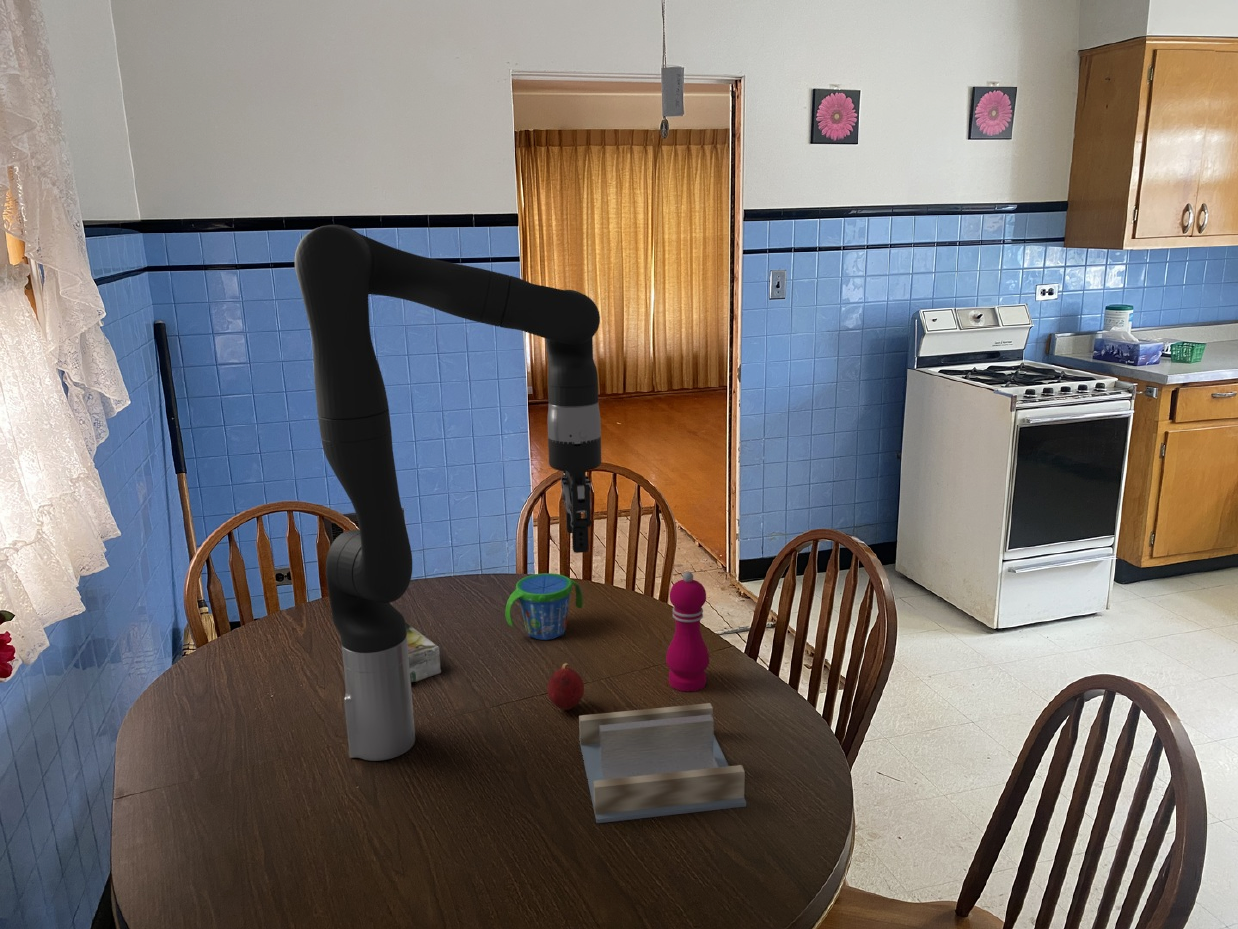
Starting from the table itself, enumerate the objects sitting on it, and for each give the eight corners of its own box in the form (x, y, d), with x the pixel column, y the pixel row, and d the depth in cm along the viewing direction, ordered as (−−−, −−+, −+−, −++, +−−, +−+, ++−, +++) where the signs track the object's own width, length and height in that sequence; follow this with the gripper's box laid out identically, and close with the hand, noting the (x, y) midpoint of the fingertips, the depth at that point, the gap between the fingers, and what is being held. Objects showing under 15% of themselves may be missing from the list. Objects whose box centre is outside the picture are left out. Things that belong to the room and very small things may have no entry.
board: (596, 823, 116) (596, 819, 116) (579, 739, 135) (578, 736, 135) (746, 806, 119) (746, 802, 119) (708, 726, 138) (708, 723, 138)
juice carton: (447, 674, 156) (444, 642, 155) (395, 694, 150) (392, 661, 149) (393, 638, 171) (390, 608, 170) (344, 654, 165) (341, 624, 164)
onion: (579, 721, 140) (578, 674, 138) (543, 717, 142) (542, 671, 140) (588, 702, 146) (587, 657, 144) (554, 699, 147) (552, 654, 145)
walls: (595, 814, 117) (594, 787, 116) (579, 739, 134) (579, 715, 133) (744, 798, 120) (744, 771, 119) (709, 726, 137) (710, 703, 136)
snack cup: (516, 652, 164) (513, 600, 161) (498, 630, 173) (495, 580, 170) (594, 635, 170) (593, 585, 167) (573, 614, 179) (571, 567, 177)
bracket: (606, 793, 121) (605, 749, 120) (600, 768, 127) (599, 725, 125) (721, 781, 124) (722, 737, 122) (710, 756, 129) (710, 714, 128)
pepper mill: (660, 689, 150) (659, 577, 145) (674, 669, 156) (674, 561, 151) (701, 696, 147) (702, 582, 142) (714, 677, 154) (715, 567, 148)
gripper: (544, 424, 134) (547, 528, 138) (552, 446, 120) (556, 560, 124) (594, 422, 135) (596, 525, 139) (607, 443, 121) (609, 557, 125)
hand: (577, 541), depth 132 cm, fingers open, 8 cm apart
